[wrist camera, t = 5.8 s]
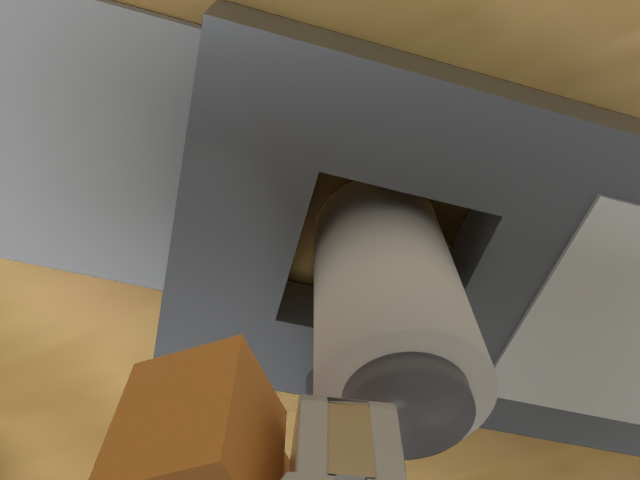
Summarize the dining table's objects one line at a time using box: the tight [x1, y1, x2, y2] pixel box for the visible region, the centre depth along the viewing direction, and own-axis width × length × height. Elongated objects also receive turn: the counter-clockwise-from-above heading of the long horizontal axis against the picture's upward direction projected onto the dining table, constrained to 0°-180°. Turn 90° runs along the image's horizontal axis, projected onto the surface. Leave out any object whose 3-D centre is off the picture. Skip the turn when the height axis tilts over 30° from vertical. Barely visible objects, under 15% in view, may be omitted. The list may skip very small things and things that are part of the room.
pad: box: [0, 0, 202, 291], centre depth 18 cm, size 10×10×1 cm
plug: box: [313, 181, 499, 460], centre depth 17 cm, size 5×5×9 cm
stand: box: [153, 0, 640, 457], centre depth 15 cm, size 22×13×13 cm, turn 75°
